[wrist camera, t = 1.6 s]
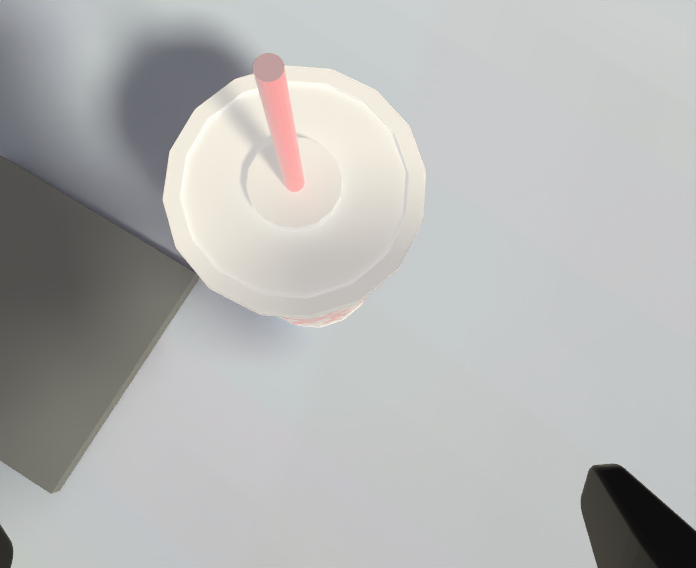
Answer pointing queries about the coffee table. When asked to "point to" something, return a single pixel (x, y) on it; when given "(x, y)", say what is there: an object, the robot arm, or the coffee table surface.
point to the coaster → (70, 322)
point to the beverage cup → (295, 192)
